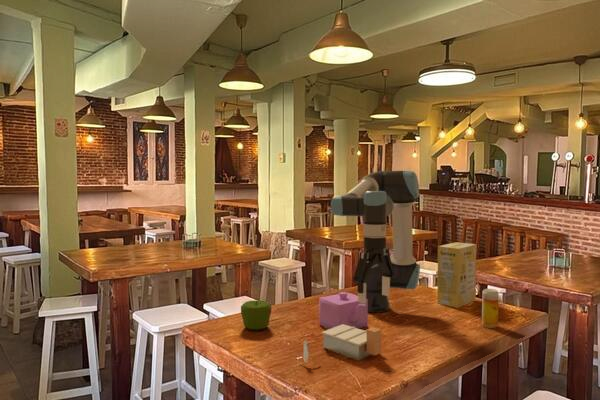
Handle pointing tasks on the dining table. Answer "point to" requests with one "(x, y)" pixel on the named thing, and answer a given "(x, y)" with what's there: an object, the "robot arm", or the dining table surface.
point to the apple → (256, 314)
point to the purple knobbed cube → (343, 311)
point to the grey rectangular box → (345, 348)
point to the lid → (358, 337)
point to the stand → (306, 351)
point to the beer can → (490, 308)
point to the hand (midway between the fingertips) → (374, 298)
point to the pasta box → (456, 274)
